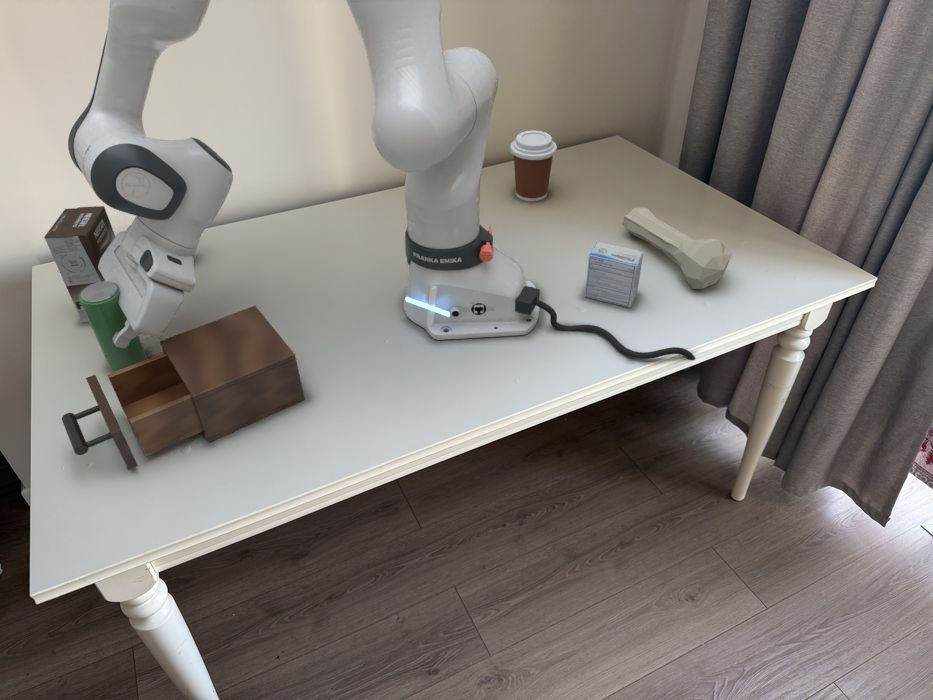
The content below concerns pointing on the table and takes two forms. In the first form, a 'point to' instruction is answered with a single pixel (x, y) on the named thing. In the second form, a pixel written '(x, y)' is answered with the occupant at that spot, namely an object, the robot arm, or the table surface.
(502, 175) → the table surface
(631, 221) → the faceted club
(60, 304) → the table surface
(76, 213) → the coffee box
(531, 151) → the coffee cup
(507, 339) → the table surface
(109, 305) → the green can
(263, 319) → the cabinet
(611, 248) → the medicine box
